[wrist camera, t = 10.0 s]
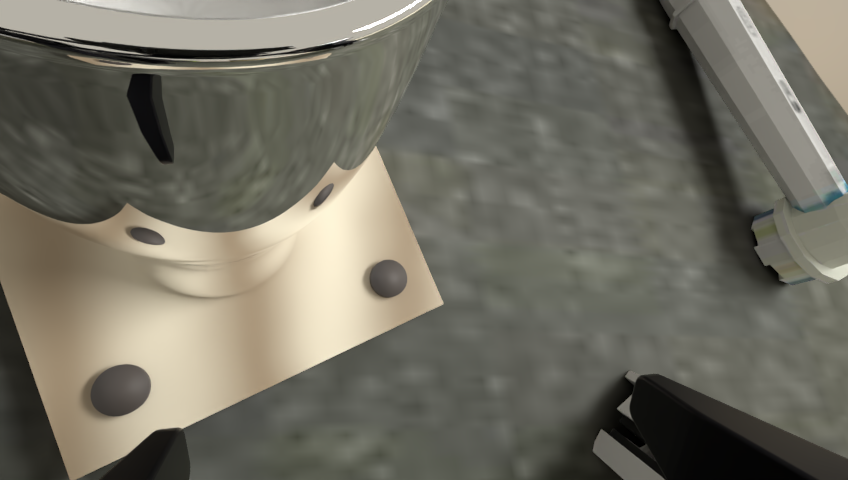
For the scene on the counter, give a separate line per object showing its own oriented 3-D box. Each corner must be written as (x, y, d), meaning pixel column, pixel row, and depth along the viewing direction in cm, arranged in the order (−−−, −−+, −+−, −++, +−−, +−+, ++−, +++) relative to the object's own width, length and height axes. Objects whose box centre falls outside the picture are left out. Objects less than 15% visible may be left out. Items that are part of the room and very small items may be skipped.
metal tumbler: (280, 123, 19) (391, -474, 5) (330, 278, 18) (612, 49, 4) (84, 150, 16) (-881, -1126, 2) (135, 338, 15) (-846, 190, 1)
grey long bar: (723, -56, 32) (938, 246, 27) (652, 17, 38) (816, 278, 33) (681, -60, 30) (906, 270, 24) (612, 18, 36) (781, 299, 30)
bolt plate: (83, 472, 14) (67, 484, 13) (-51, 95, 15) (-78, 70, 14) (433, 306, 21) (446, 303, 19) (321, 45, 22) (326, 24, 20)
